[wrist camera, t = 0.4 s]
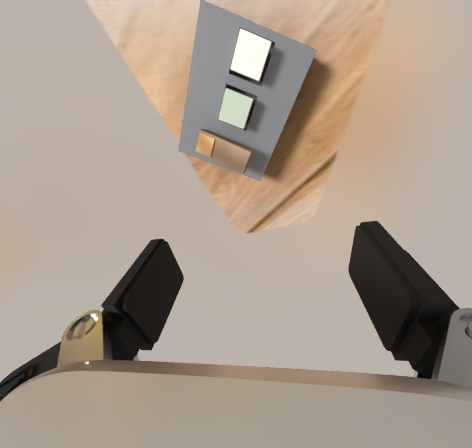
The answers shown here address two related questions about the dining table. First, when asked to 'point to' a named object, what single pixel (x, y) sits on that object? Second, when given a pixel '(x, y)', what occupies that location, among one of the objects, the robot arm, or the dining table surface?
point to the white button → (250, 55)
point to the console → (241, 86)
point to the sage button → (235, 108)
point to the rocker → (223, 150)
